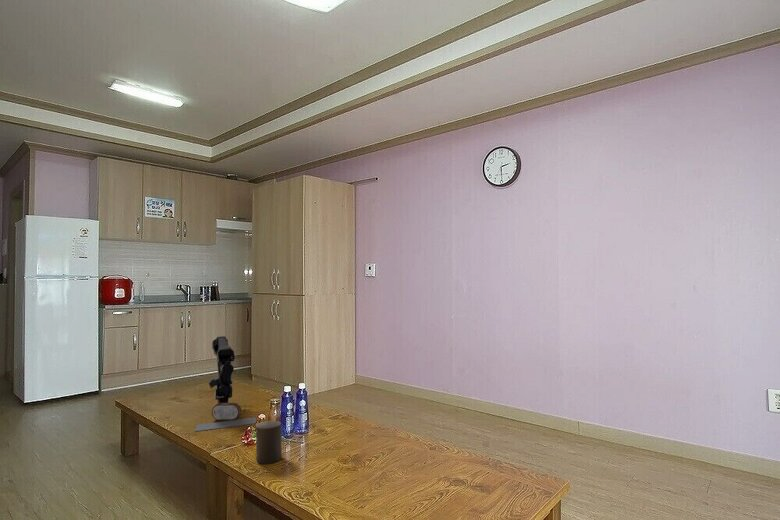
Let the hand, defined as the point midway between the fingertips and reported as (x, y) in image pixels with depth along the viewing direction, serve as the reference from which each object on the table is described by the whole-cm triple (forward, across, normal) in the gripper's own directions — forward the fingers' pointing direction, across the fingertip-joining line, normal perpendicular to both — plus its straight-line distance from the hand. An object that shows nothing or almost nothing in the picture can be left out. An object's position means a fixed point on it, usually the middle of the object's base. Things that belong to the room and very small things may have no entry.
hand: (226, 401), depth 237 cm
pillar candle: (+8, +68, +17) cm, 71 cm away
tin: (+8, +7, 0) cm, 11 cm away
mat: (+8, +14, 0) cm, 16 cm away
